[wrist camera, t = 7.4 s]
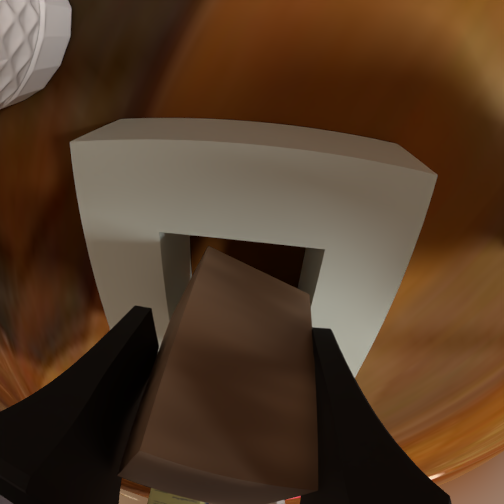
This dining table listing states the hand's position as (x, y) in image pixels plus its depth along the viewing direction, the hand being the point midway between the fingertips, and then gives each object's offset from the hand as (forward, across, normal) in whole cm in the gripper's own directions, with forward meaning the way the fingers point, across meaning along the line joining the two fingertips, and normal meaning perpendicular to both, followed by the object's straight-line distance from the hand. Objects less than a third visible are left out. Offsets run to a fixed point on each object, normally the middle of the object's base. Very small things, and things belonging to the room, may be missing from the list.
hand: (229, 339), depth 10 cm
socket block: (+6, 0, 0) cm, 6 cm away
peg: (+2, 0, 0) cm, 2 cm away
